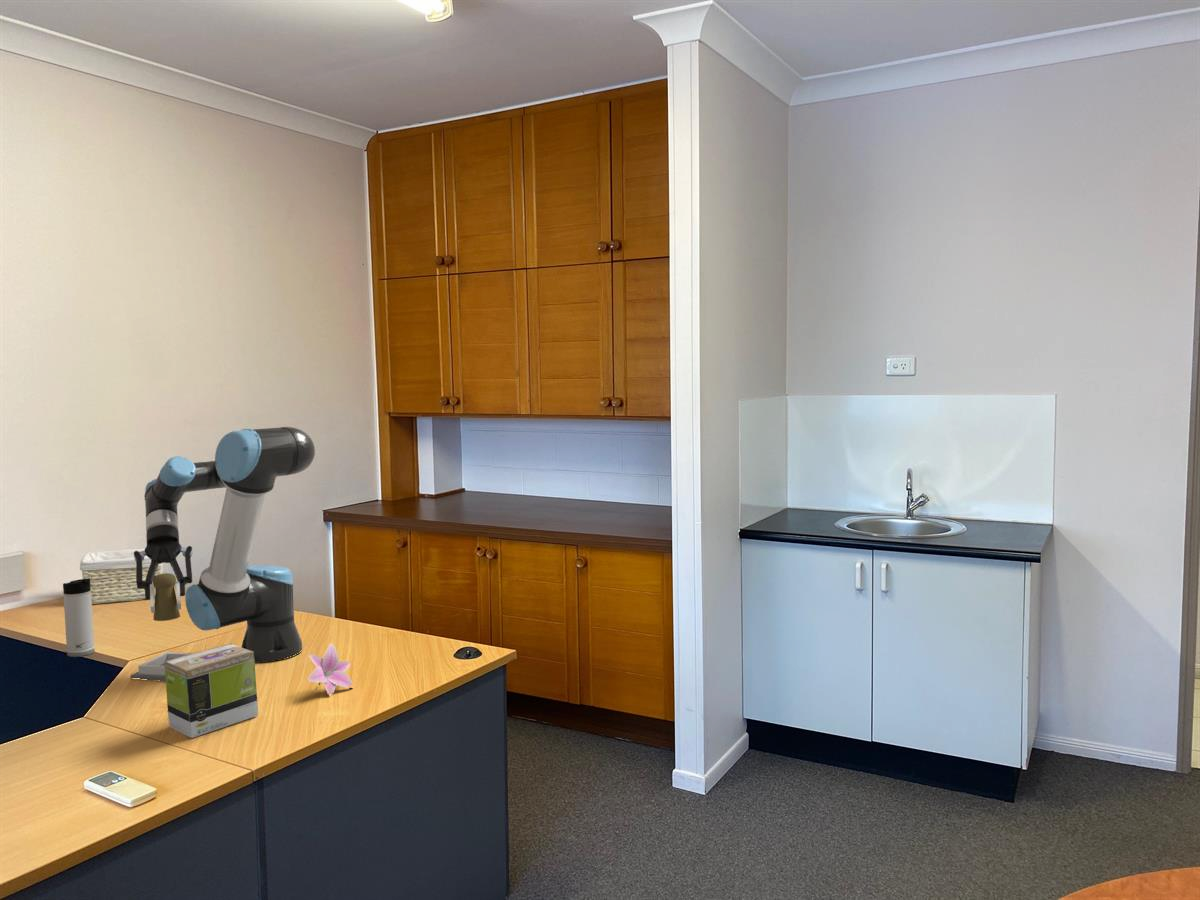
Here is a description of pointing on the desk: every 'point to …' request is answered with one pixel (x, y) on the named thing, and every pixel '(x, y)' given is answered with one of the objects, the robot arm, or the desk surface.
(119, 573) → the storage basket
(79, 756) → the desk surface
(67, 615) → the travel mug
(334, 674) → the lily
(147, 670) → the grey square tray
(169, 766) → the desk surface
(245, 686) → the tea box
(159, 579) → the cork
